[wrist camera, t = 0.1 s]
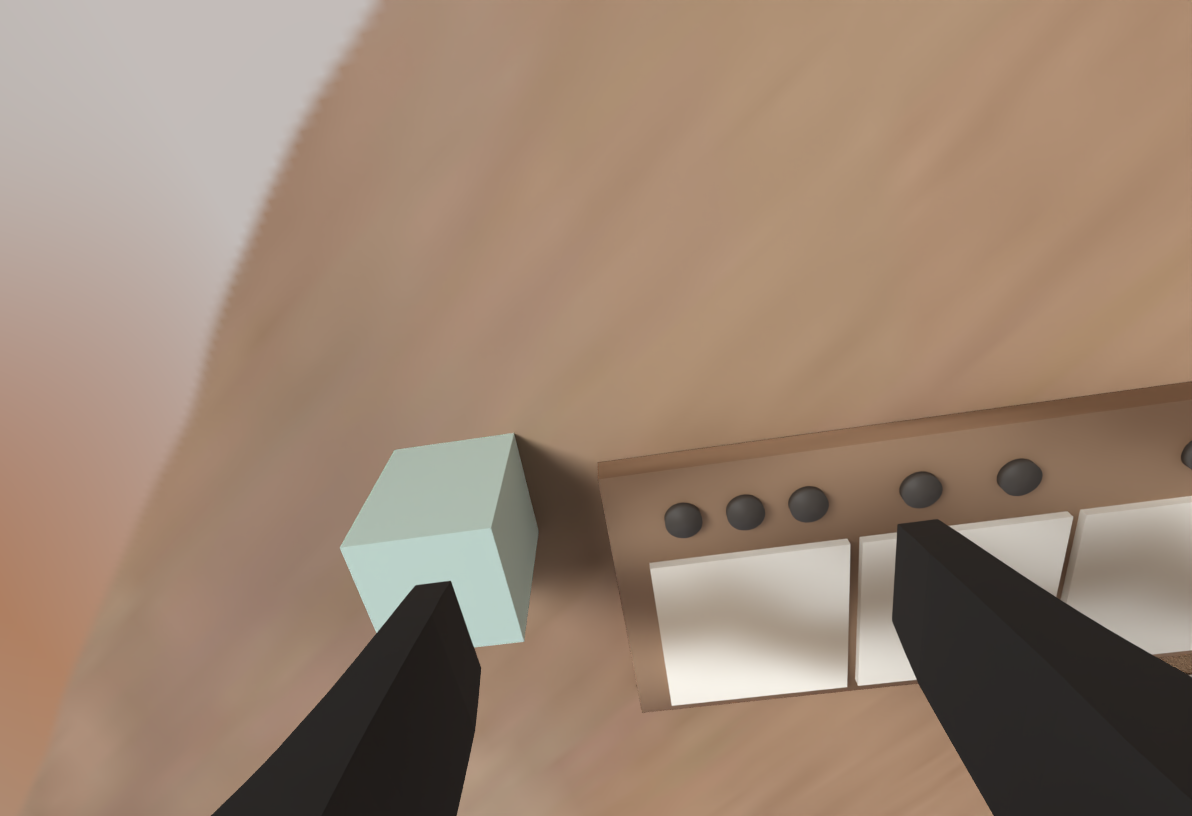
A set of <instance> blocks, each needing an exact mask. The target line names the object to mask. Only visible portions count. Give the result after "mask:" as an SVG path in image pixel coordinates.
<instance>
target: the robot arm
mask: <svg viewBox="0 0 1192 816" xmlns="http://www.w3.org/2000/svg"><path fill="white" fill-rule="evenodd" d="M892 622H893V625H894V627H895V630H896V632H897V635H898V637H899V640H900V642H901V644H902V647H903V649H904V652H905V654H906V656H907V659H908V661H909V663H910V666H911V668H912V670H913V672H914V675H915V677H916V679H917V682H918V684H919V685H920V687H921V689H922V691H923V693H924V694H925V696H926V698H927V700H928V702H929V703H930V705H931V707H932V709H933V710H934V712H935V714H936V716H937V717H938V719H939V721H940V723H941V725H942V726H943V728H944V730H945V732H946V733H947V735H948V737H949V739H950V740H951V742H952V744H953V746H954V747H955V749H956V751H957V753H958V754H959V756H960V758H961V760H962V761H963V763H964V765H965V766H966V768H967V770H968V772H969V773H970V775H971V777H972V779H973V780H974V782H975V784H976V786H977V787H978V789H979V791H980V793H981V794H982V796H983V798H984V800H985V801H986V803H987V805H988V807H989V808H990V810H991V812H992V814H993V815H994V816H1192V677H1191V676H1189V675H1188V674H1186V673H1184V672H1182V671H1180V670H1178V669H1177V668H1175V667H1173V666H1171V665H1169V664H1167V663H1166V662H1164V661H1162V660H1160V659H1159V658H1157V657H1155V656H1153V655H1152V654H1150V653H1148V652H1147V651H1145V650H1143V649H1141V648H1140V647H1138V646H1136V645H1134V644H1133V643H1131V642H1129V641H1128V640H1126V639H1124V638H1122V637H1121V636H1119V635H1117V634H1115V633H1114V632H1112V631H1110V630H1109V629H1107V628H1105V627H1104V626H1102V625H1100V624H1099V623H1097V622H1096V621H1094V620H1092V619H1091V618H1089V617H1087V616H1086V615H1084V614H1082V613H1081V612H1079V611H1078V610H1076V609H1074V608H1073V607H1071V606H1070V605H1068V604H1066V603H1065V602H1063V601H1062V600H1060V599H1059V598H1057V597H1055V596H1054V595H1052V594H1051V593H1049V592H1048V591H1046V590H1044V589H1043V588H1041V587H1040V586H1038V585H1037V584H1035V583H1034V582H1032V581H1031V580H1029V579H1028V578H1026V577H1025V576H1023V575H1021V574H1020V573H1018V572H1017V571H1015V570H1014V569H1012V568H1011V567H1009V566H1008V565H1006V564H1005V563H1003V562H1002V561H1000V560H999V559H997V558H996V557H994V556H993V555H991V554H990V553H989V552H987V551H986V550H984V549H983V548H981V547H980V546H978V545H977V544H975V543H974V542H972V541H971V540H969V539H968V538H966V537H965V536H963V535H962V534H960V533H959V532H957V531H956V530H954V529H953V528H951V527H950V526H948V525H946V524H945V523H943V522H942V521H940V520H939V519H933V520H926V521H918V522H910V523H902V524H897V541H896V558H895V575H894V592H893V609H892ZM480 675H481V666H480V664H479V661H478V658H477V655H476V652H475V649H474V646H473V643H472V640H471V637H470V634H469V632H468V629H467V626H466V623H465V620H464V617H463V614H462V611H461V608H460V605H459V603H458V600H457V597H456V594H455V591H454V588H453V585H452V582H451V581H444V582H436V583H429V584H421V585H415V586H414V588H413V589H412V590H411V591H410V592H409V593H408V595H407V596H406V597H405V598H404V600H403V601H402V602H401V603H400V605H399V606H398V607H397V608H396V610H395V611H394V612H393V613H392V615H391V616H390V617H389V618H388V620H387V621H386V622H385V623H384V625H383V626H382V627H381V628H380V630H379V631H378V632H377V633H376V635H375V636H374V637H373V638H372V640H371V641H370V642H369V643H368V645H367V646H366V647H365V648H364V650H363V651H362V652H361V653H360V654H359V656H358V657H357V658H356V659H355V661H354V662H353V663H352V664H351V665H350V667H349V668H348V669H347V670H346V671H345V673H344V674H343V675H342V676H341V677H340V679H339V680H338V681H337V682H336V683H335V685H334V686H333V687H332V688H331V690H330V691H329V692H328V693H327V694H326V695H325V696H324V698H323V699H322V700H321V701H320V702H319V703H318V704H317V705H316V707H315V708H314V709H313V710H312V711H311V712H310V713H309V714H308V715H307V717H306V718H305V719H304V720H303V721H302V722H301V723H300V724H299V726H298V727H297V728H296V729H295V730H294V731H293V732H292V733H291V735H290V736H289V737H288V738H287V739H286V740H285V741H284V742H283V743H282V745H281V746H280V747H279V748H278V749H277V750H276V751H275V752H274V753H273V754H272V755H271V756H270V757H269V759H268V760H267V761H266V762H265V763H264V764H263V765H262V766H261V767H260V768H259V769H258V770H257V771H256V772H255V773H254V774H253V775H252V776H251V777H250V778H249V779H248V780H247V781H246V782H245V783H244V784H243V785H242V786H241V787H240V788H239V789H238V790H237V791H236V792H235V793H234V794H233V795H232V796H231V797H230V798H229V799H228V800H227V801H226V802H225V803H224V804H223V805H222V806H221V807H220V808H218V809H217V810H216V811H215V812H214V813H213V814H212V815H211V816H457V811H458V807H459V802H460V798H461V793H462V789H463V784H464V780H465V775H466V771H467V766H468V761H469V757H470V752H471V747H472V743H473V738H474V733H475V726H476V717H477V708H478V698H479V687H480Z"/></svg>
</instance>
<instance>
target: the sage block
mask: <svg viewBox="0 0 1192 816" xmlns="http://www.w3.org/2000/svg"><path fill="white" fill-rule="evenodd" d="M538 533H539V531H538V527H537V523H536V519H535V515H534V511H533V507H532V503H531V499H530V495H529V491H528V487H527V483H526V479H525V475H524V471H523V467H522V463H521V459H520V455H519V451H518V447H517V443H516V439H515V435H514V433H511V434H504V435H497V436H490V437H483V438H475V439H468V440H461V441H454V442H447V443H440V444H433V445H426V446H419V447H412V448H405V449H398V450H394V452H393V454H392V455H391V457H390V459H389V461H388V463H387V464H386V466H385V468H384V470H383V471H382V473H381V475H380V477H379V479H378V480H377V482H376V484H375V486H374V488H373V489H372V491H371V493H370V495H369V496H368V498H367V500H366V502H365V504H364V505H363V507H362V509H361V511H360V512H359V514H358V516H357V518H356V520H355V521H354V523H353V525H352V527H351V529H350V530H349V532H348V534H347V536H346V537H345V539H344V541H343V543H342V545H341V546H340V549H341V552H342V554H343V556H344V559H345V561H346V563H347V566H348V568H349V570H350V573H351V575H352V577H353V580H354V582H355V584H356V587H357V589H358V591H359V594H360V596H361V598H362V600H363V603H364V605H365V607H366V610H367V612H368V614H369V617H370V619H371V621H372V624H373V626H374V628H375V631H376V633H377V632H378V631H379V630H380V628H381V627H382V626H383V625H384V623H385V622H386V621H387V620H388V618H389V617H390V616H391V615H392V613H393V612H394V611H395V610H396V608H397V607H398V606H399V605H400V603H401V602H402V601H403V600H404V598H405V597H406V596H407V595H408V593H409V592H410V591H411V590H412V589H413V588H414V586H415V585H421V584H429V583H436V582H444V581H451V582H452V585H453V588H454V591H455V594H456V597H457V600H458V603H459V605H460V608H461V611H462V614H463V617H464V620H465V623H466V626H467V629H468V632H469V634H470V637H471V640H472V643H473V646H474V647H482V646H490V645H499V644H507V643H516V642H524V638H525V631H526V623H527V616H528V608H529V601H530V593H531V586H532V578H533V571H534V563H535V556H536V548H537V540H538Z"/></svg>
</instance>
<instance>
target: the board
mask: <svg viewBox="0 0 1192 816" xmlns="http://www.w3.org/2000/svg"><path fill="white" fill-rule="evenodd" d="M598 483H599V488H600V494H601V499H602V504H603V509H604V515H605V520H606V525H607V530H608V536H609V541H610V546H611V551H612V557H613V562H614V567H615V573H616V578H617V583H618V588H619V594H620V599H621V604H622V609H623V615H624V620H625V625H626V630H627V636H628V641H629V646H630V652H631V657H632V662H633V667H634V673H635V678H636V683H637V688H638V694H639V699H640V704H641V709H642V713H645V712H654V711H664V710H673V709H683V708H692V707H701V706H711V705H720V704H730V703H739V702H748V701H758V700H767V699H777V698H786V697H795V696H805V695H814V694H824V693H833V692H842V691H852V690H861V689H871V688H880V687H889V686H899V685H908V684H918V682H917V679H916V677H915V675H914V672H913V670H912V668H911V666H910V663H909V661H908V659H907V656H906V654H905V652H904V649H903V647H902V644H901V642H900V640H899V637H898V635H897V632H896V630H895V627H894V625H893V622H892V609H893V592H894V575H895V558H896V541H897V524H902V523H910V522H918V521H926V520H933V519H939V520H940V521H942V522H943V523H945V524H946V525H948V526H950V527H951V528H953V529H954V530H956V531H957V532H959V533H960V534H962V535H963V536H965V537H966V538H968V539H969V540H971V541H972V542H974V543H975V544H977V545H978V546H980V547H981V548H983V549H984V550H986V551H987V552H989V553H990V554H991V555H993V556H994V557H996V558H997V559H999V560H1000V561H1002V562H1003V563H1005V564H1006V565H1008V566H1009V567H1011V568H1012V569H1014V570H1015V571H1017V572H1018V573H1020V574H1021V575H1023V576H1025V577H1026V578H1028V579H1029V580H1031V581H1032V582H1034V583H1035V584H1037V585H1038V586H1040V587H1041V588H1043V589H1044V590H1046V591H1048V592H1049V593H1051V594H1052V595H1054V596H1055V597H1057V598H1059V599H1060V600H1062V601H1063V602H1065V603H1066V604H1068V605H1070V606H1071V607H1073V608H1074V609H1076V610H1078V611H1079V612H1081V613H1082V614H1084V615H1086V616H1087V617H1089V618H1091V619H1092V620H1094V621H1096V622H1097V623H1099V624H1100V625H1102V626H1104V627H1105V628H1107V629H1109V630H1110V631H1112V632H1114V633H1115V634H1117V635H1119V636H1121V637H1122V638H1124V639H1126V640H1128V641H1129V642H1131V643H1133V644H1134V645H1136V646H1138V647H1140V648H1141V649H1143V650H1145V651H1147V652H1148V653H1150V654H1152V655H1153V656H1155V657H1157V658H1162V657H1171V656H1181V655H1190V654H1192V382H1186V383H1178V384H1171V385H1164V386H1156V387H1149V388H1142V389H1134V390H1127V391H1120V392H1112V393H1105V394H1098V395H1090V396H1083V397H1076V398H1068V399H1061V400H1054V401H1046V402H1039V403H1032V404H1024V405H1017V406H1010V407H1002V408H995V409H988V410H980V411H973V412H966V413H958V414H951V415H944V416H936V417H929V418H922V419H914V420H907V421H900V422H892V423H885V424H878V425H870V426H863V427H856V428H848V429H841V430H834V431H826V432H819V433H812V434H804V435H797V436H790V437H782V438H775V439H768V440H760V441H753V442H746V443H738V444H731V445H724V446H716V447H709V448H702V449H694V450H687V451H680V452H672V453H665V454H658V455H650V456H643V457H636V458H628V459H621V460H614V461H606V462H599V463H598Z"/></svg>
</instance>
